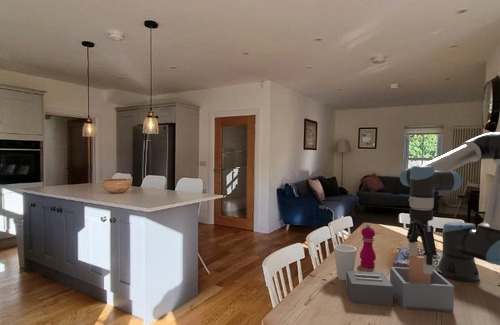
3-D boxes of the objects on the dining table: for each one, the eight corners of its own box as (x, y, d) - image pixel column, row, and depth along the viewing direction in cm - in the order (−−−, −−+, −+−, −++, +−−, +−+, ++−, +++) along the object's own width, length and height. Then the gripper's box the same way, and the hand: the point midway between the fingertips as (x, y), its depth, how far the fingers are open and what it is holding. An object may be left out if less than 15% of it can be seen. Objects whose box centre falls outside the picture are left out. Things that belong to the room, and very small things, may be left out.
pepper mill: (377, 269, 140) (377, 226, 139) (360, 267, 141) (361, 225, 140) (374, 263, 147) (374, 222, 146) (358, 262, 148) (359, 222, 147)
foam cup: (338, 271, 137) (339, 243, 136) (359, 276, 131) (359, 247, 130) (330, 278, 129) (330, 248, 129) (351, 284, 123) (351, 253, 123)
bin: (433, 292, 117) (434, 269, 116) (453, 312, 102) (454, 286, 102) (389, 289, 119) (390, 266, 119) (403, 308, 104) (403, 283, 104)
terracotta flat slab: (428, 296, 111) (429, 256, 110) (430, 299, 109) (431, 258, 109) (408, 295, 112) (409, 255, 111) (409, 297, 110) (410, 257, 110)
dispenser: (382, 290, 118) (383, 271, 118) (392, 305, 106) (393, 284, 106) (346, 287, 120) (346, 269, 120) (351, 302, 108) (351, 282, 108)
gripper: (398, 202, 122) (397, 253, 123) (424, 215, 98) (422, 279, 98) (418, 202, 121) (417, 254, 122) (449, 215, 96) (447, 281, 97)
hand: (419, 266), depth 110 cm, fingers open, 13 cm apart
